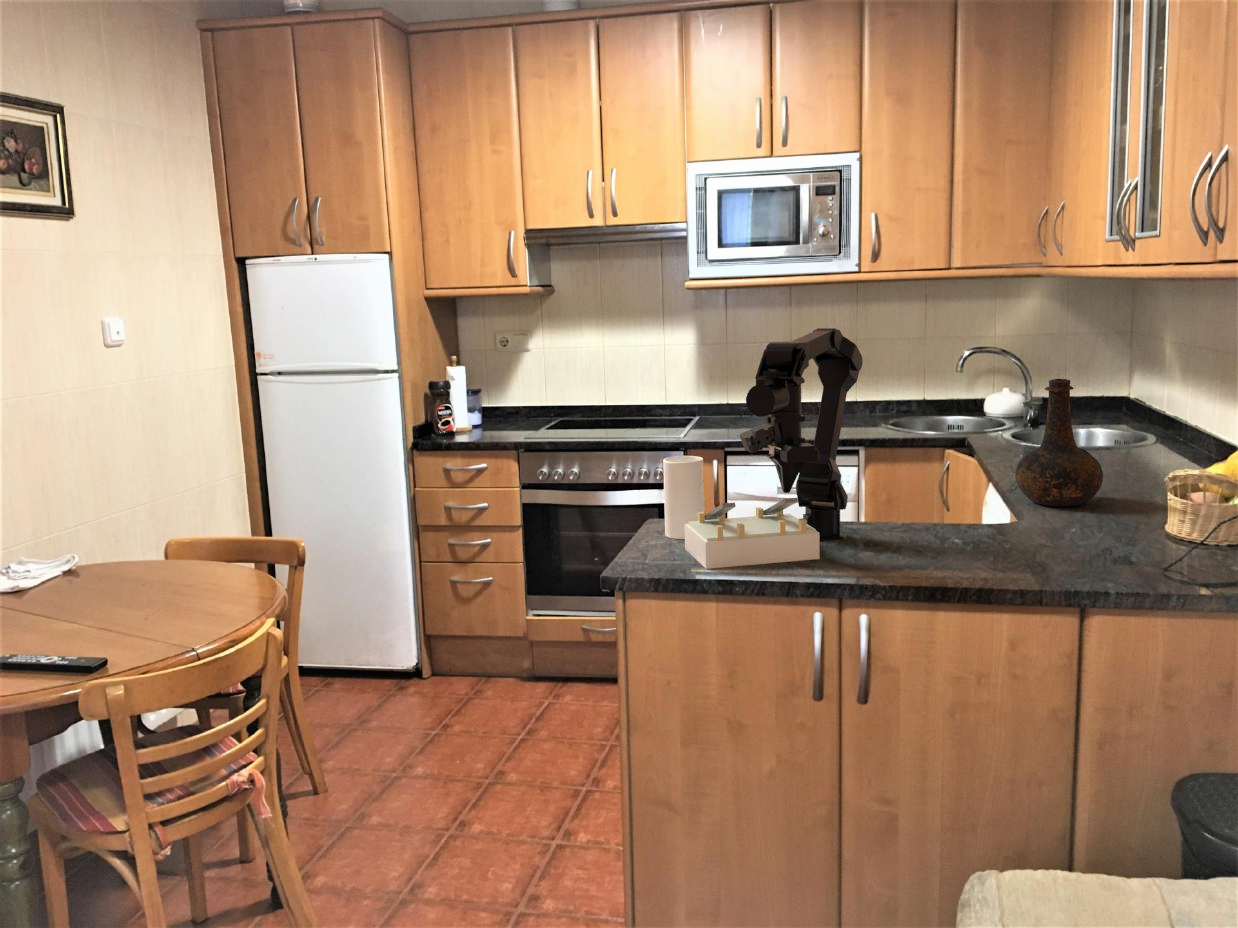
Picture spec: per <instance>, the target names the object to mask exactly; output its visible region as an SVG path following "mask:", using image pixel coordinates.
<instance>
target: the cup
mask: <svg viewBox="0 0 1238 928" xmlns="http://www.w3.org/2000/svg"><path fill="white" fill-rule="evenodd" d="M662 462H663V463H662V465H663V466H662V467H663V496H664V497H663V499H664V501H663V503H664V505H663V506H664V534H665V535H664V536H665V537H666V538H668V539H669V538H670V539H674V540H685V524H688V522H689V521H697V512H703V513H704V514H705V491H704V490H705V487H704V483H705V482H704V479H705V478H704V458H703V457H701V456H695V455H676V456H668V457H665V458H663V461H662Z"/></svg>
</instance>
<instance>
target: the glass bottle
mask: <svg viewBox="0 0 1238 928" xmlns="http://www.w3.org/2000/svg"><path fill="white" fill-rule="evenodd" d="M1074 389H1075V388H1074V387H1073V386H1072V385H1071V380H1070V379H1067V378H1054V379H1050V380H1048V386H1046V387H1045V388H1044V390H1045V391H1046V392H1048V397H1047V398H1048V399H1047V410H1046V411H1047V413H1046V420H1045V426H1044V432H1043V438H1042V441H1041V444H1040V445H1039V447H1038V448H1037V449H1034V450H1033V451H1030V452H1028V453H1026V454H1025V455H1024V456H1023V457H1021V458H1020V460H1019V461H1018V463H1017V465H1016V469H1015V472H1014V473H1015V474H1014V478H1015V481H1016V484H1017V487H1018V488H1019V490H1020V491H1021V493H1022V494H1023V495H1025V497H1026V498H1028V499H1029V500H1030V501H1032V502H1033V503H1036V504H1039V505H1041V506H1042V505H1043V506H1049V507H1058V508H1059V507H1061V508H1063V507H1064V508H1065V507H1075V506H1080V505H1082V504H1085V503H1087V502H1089V501H1090V500H1092V499H1093V498H1094V497H1095V495H1097V494H1098V492H1099V491H1100V489H1101V487H1102V484H1103V480H1104V473H1103V469H1102V466H1101V463H1100V462H1099V460H1098V459H1097V458H1096V457H1095V456H1093V455H1092V454H1091V453H1090V452H1088V450H1086V449H1084V448H1082V447H1078V445H1077V443H1076V440H1075V436H1074V433H1073V424H1072V415H1071V414H1072V413H1071V390H1074Z"/></svg>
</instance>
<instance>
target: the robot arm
mask: <svg viewBox="0 0 1238 928" xmlns="http://www.w3.org/2000/svg"><path fill="white" fill-rule="evenodd" d="M810 360H813V361H814V363H815V365H816V367H817V376H818V378H819V380H820V382H821V384H822V387H823V388H822V394H821V399H820V404H819V405H820V406H819V410H818V411H819V412H818V416H817V423H816V428H815V434H814V438H813V439H814V441H813V444H812V443H809V442H806V438H805V437H803V436H802V423H803V422H806V416H805V415H803V414H802V385H803V384H804V383H806V381H805V378H804V377H803V373H804V372H805V370H806V369H807V368H809V366H810ZM863 362H864V361H863V356H862V354H861V352H860V350H859V348H858V345H857V344H856V343H855V342H853V341H851V340H850V339H848V338H847V337H845V336H844V335H843V333H842V331H841V330H840V329H837V328H835V327H833V328H831V327H829V328H828V327H826V328H823V327H822V328H821V327H820V328H816V329H813V331H811V332H809V333H807V334H805V335H803V336H801V337H798V338H796V339H794V340H792V341H771V342H768V344H767V345H766V346H765V349H764V350H763V352H762V355H761V359H760V362H759V365H758V369H757V372H756V374H755V385H754V386H752V387H750V389H749V390H748V392H747V395H746V397H745V405H746V407H747V409H748V410H749V412H750V413H751V414H752V415H754V416H756V417H759V418H760V417H765V418H764V419H765V420H764V421H765V423H763V424H760V425H757V426H755V427H753V428H750V429H748V430H746V431H743V432H741V433H740V434H739V439H740V441H741V443H742V446H743V449H744V451H747V452H748V453H750V454H754V453H757V452H758V451H762V450H763V449H764V448H768V451H769V453H766V454H765V457H767V459H769V460H770V461H771V462H772V463H773V464H774V465H775V468H776V469H775V470H776V473H777V476H778V479H779V482H780V486H781V487H780V488H781V490H782V492H783V493H784V494H790V492H791V491H792V488H793V486H794V484H795V492H796V498H797V503H798V507H799V508H803V507H804V508H805V513H803V514H802V518H804V519H806V524H808V525H809V526H811V527H813V528H814V529H816V531H817V532H819V541H828V540H839V539H840V540H841V539H844V535H843V534H841V510H846V509H847V505H848V503H849V502H848V498H849V497H848V494H847V492H846V490H845V488H844V486H843V484H842V473H841V471H840V469H839V466H838V464H837V462H836V461H837V455H838V454H837V453H838V447H839V442H840V436H841V431H842V430H841V429H842V423H843V418H844V411H845V407H846V406H845V405H846V401H847V395H848V392H849V391H850V390H851V389H852V388H853V386H854V385H856V383H857V381H858V379H859V374H860V371H861V370H862V367H863ZM795 482H796V483H795Z"/></svg>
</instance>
